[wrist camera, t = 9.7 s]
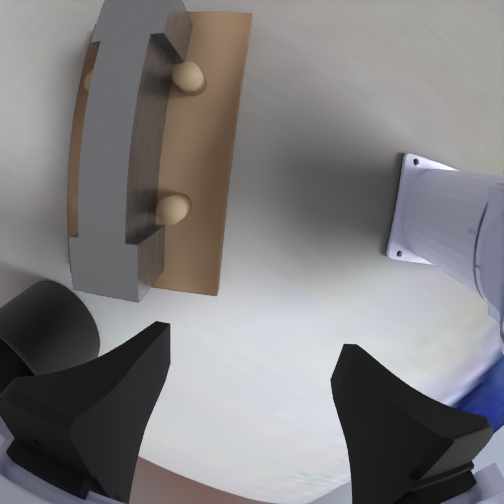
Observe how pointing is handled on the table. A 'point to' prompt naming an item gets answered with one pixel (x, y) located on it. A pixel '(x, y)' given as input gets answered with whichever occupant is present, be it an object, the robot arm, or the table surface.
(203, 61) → the peg rack
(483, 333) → the table surface
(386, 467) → the robot arm
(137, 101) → the gray notched long block
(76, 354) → the mug
